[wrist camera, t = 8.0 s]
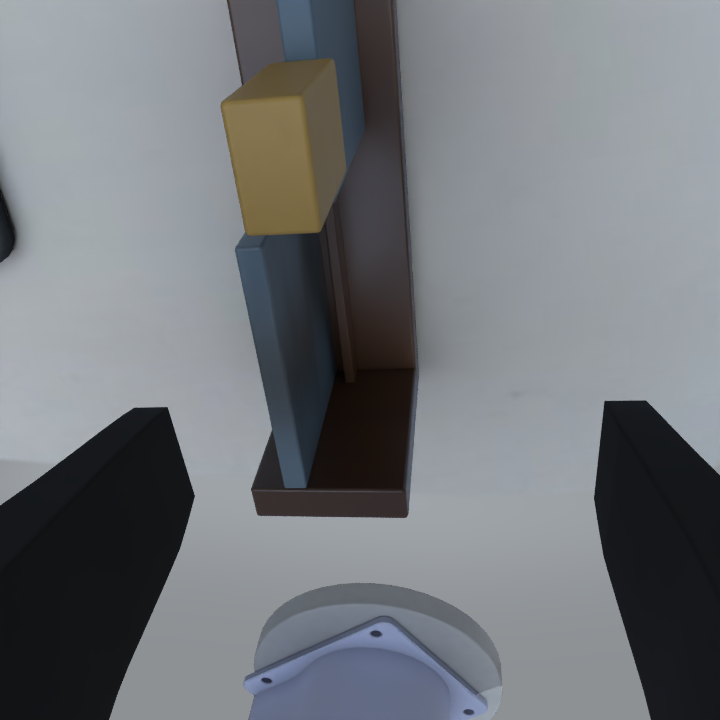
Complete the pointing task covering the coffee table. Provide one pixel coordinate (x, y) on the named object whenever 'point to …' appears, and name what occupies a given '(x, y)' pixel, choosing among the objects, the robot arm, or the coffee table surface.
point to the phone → (5, 233)
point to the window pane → (298, 121)
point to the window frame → (338, 305)
